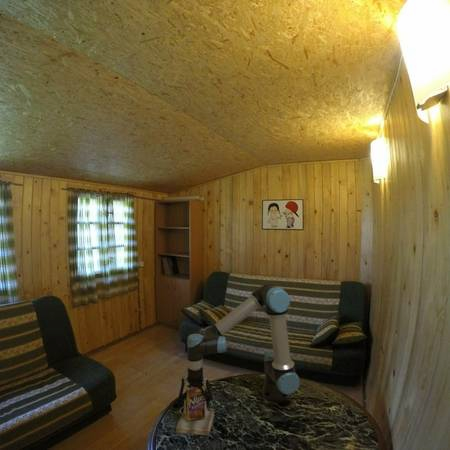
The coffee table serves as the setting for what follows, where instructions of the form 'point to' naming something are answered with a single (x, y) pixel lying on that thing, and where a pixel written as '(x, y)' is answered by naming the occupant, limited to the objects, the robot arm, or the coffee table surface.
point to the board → (195, 424)
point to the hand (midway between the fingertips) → (196, 413)
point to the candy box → (195, 403)
